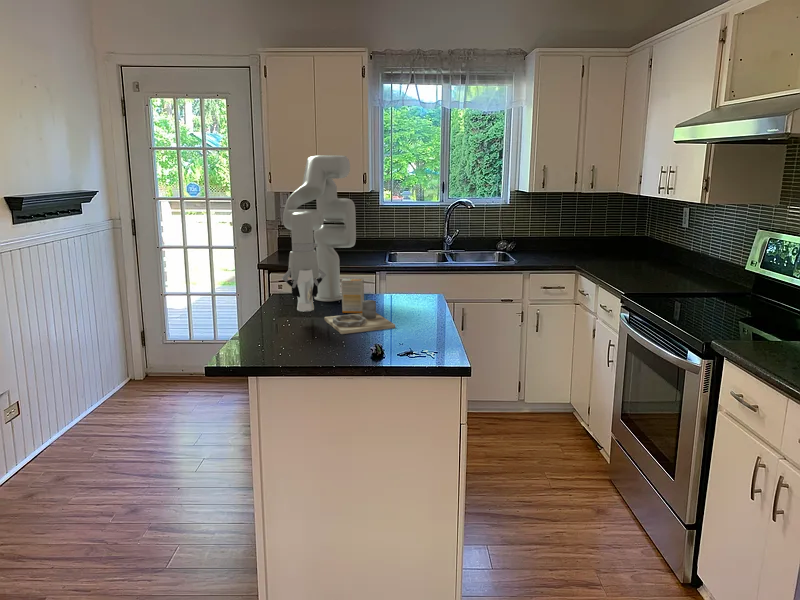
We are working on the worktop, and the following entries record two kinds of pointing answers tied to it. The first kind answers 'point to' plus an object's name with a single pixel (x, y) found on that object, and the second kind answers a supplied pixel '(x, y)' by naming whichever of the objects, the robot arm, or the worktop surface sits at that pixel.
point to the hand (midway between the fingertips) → (305, 296)
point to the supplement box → (352, 295)
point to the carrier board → (364, 327)
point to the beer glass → (305, 290)
